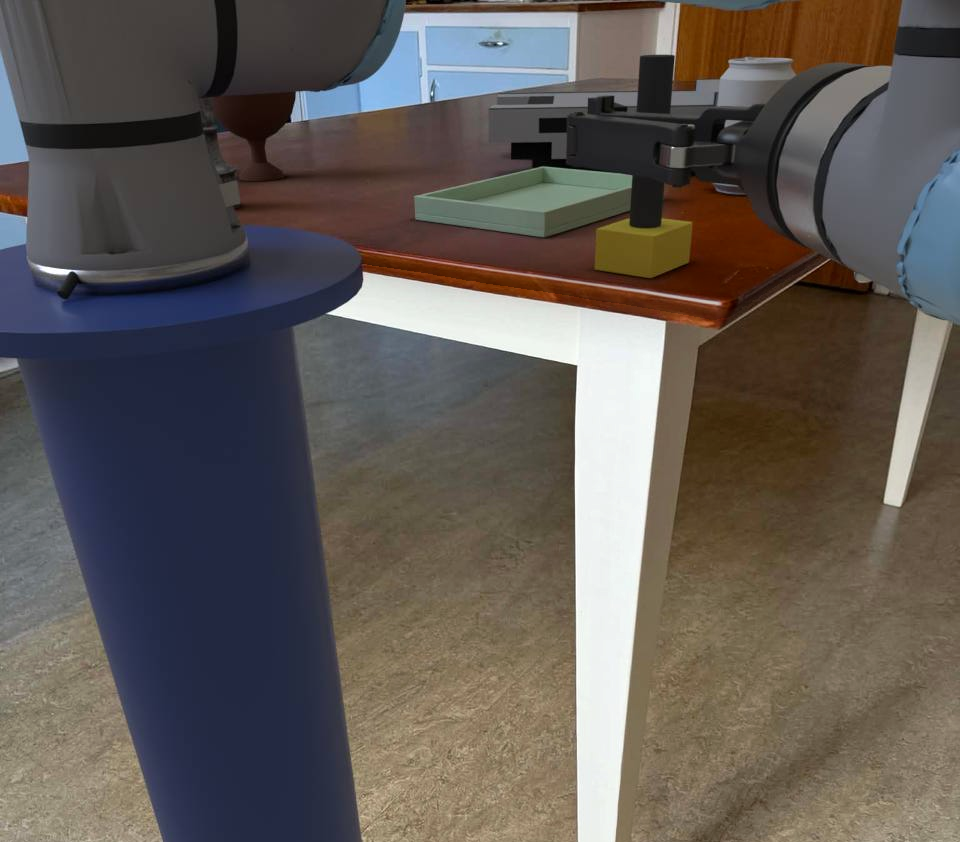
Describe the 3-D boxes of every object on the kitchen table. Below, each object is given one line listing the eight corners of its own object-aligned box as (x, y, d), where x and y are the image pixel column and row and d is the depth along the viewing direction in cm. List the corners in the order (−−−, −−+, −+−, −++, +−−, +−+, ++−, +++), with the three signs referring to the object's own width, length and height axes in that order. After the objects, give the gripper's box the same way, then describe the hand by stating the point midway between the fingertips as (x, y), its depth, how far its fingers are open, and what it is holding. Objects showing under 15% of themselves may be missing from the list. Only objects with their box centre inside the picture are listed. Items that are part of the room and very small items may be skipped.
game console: (500, 152, 127) (499, 82, 122) (741, 149, 125) (749, 77, 120) (489, 177, 110) (488, 97, 105) (768, 175, 107) (779, 92, 103)
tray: (544, 237, 83) (544, 212, 81) (415, 219, 91) (413, 196, 89) (663, 200, 96) (665, 177, 95) (542, 187, 104) (542, 166, 103)
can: (752, 199, 96) (770, 60, 89) (693, 190, 100) (706, 58, 93) (795, 189, 99) (815, 56, 93) (736, 181, 104) (752, 54, 97)
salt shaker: (237, 212, 96) (216, 75, 89) (179, 214, 96) (154, 76, 89) (246, 201, 101) (227, 70, 94) (191, 203, 100) (167, 72, 94)
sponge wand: (650, 278, 70) (668, 58, 62) (594, 270, 73) (603, 57, 65) (689, 262, 74) (710, 53, 66) (634, 254, 77) (647, 52, 69)
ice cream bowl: (290, 185, 109) (272, 31, 100) (200, 184, 111) (174, 33, 102) (319, 170, 118) (304, 27, 109) (235, 170, 119) (214, 29, 111)
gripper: (575, 269, 43) (503, 192, 60) (1085, 239, 45) (874, 174, 63) (581, 77, 38) (502, 54, 56) (1143, 55, 41) (899, 40, 58)
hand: (698, 117), depth 59 cm, fingers open, 13 cm apart
